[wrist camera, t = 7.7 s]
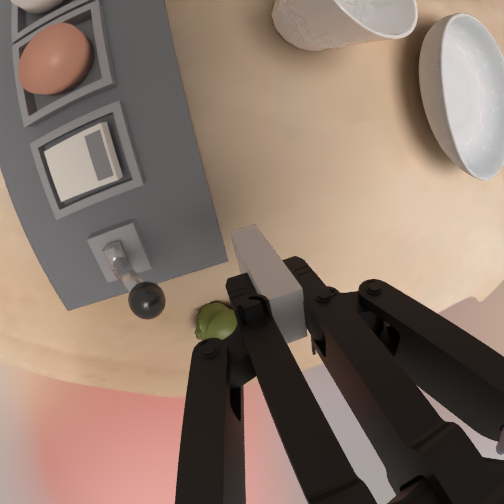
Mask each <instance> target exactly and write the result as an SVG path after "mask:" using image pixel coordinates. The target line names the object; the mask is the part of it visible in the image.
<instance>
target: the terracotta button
mask: <svg viewBox="0 0 504 504" xmlns="http://www.w3.org/2000/svg"><path fill="white" fill-rule="evenodd" d="M93 53H94V52H93V46H92V43H91V41H90V40H89V38H88V37H87V36H85V35H84V34H83V33H82V32H81V31H80V30H79V29H77V28H76V27H75V26H73V25H71V24H68V23H57V24H53V25H51V26H48V27H46V28H45V29H43V30H41V31H40V32H39V33H38V34H36V35H35V36H34V37H33V38H32V39H31V41H30V42H29V43H28V44H27V46H26V48H25V49H24V51H23V53H22V55H21V58H20V61H19V66H18V77H19V81H20V83H21V85H22V86H23V88H24V89H25V90H27V91H28V92H31V93H35V94H44V95H61V94H64V93H66V92H68V91H70V90H72V89H73V88H75V87H76V86H77V85H78V84H79V83H80V82H81V81H82V80H83V79H84V77H85V76H86V74H87V73H88V71H89V69H90V67H91V64H92V61H93Z"/></svg>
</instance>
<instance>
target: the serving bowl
mask: <svg viewBox="0 0 504 504" xmlns="http://www.w3.org/2000/svg"><path fill="white" fill-rule="evenodd" d="M419 84H420V91H421V97H422V102H423V106H424V110H425V113H426V116H427V119H428V122H429V125H430V127H431V130H432V132H433V134H434V136H435V138H436V140H437V141H438V143H439V145H440V146H441V148H442V149H443V151H444V152H445V154H446V155H447V156H448V157H449V158H450V159H451V161H452V162H453V163H454V164H456V165H457V166H458V167H459V168H460V169H462V170H463V171H464V172H466V173H468V174H469V175H471V176H473V177H474V178H476V179H479V180H488V179H491V178H492V177H494V176H495V175H496V174H497V173H498V172H499V171H500V170H501V168H502V167H503V165H504V57H503V54H502V52H501V50H500V48H499V46H498V44H497V43H496V41H495V39H494V38H493V36H492V35H491V33H490V32H489V31H488V30H487V28H486V27H485V26H484V25H483V24H482V23H481V22H480V21H478V20H477V19H476V18H474V17H473V16H471V15H468V14H465V13H457V14H453V15H449V16H447V17H444V18H442V19H440V20H439V21H437V22H436V23H435V24H434V25H433V26H432V27H431V28H430V29H429V31H428V32H427V34H426V36H425V38H424V41H423V44H422V47H421V51H420V58H419Z"/></svg>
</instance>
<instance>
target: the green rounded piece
mask: <svg viewBox="0 0 504 504" xmlns="http://www.w3.org/2000/svg"><path fill="white" fill-rule="evenodd" d="M197 324H198V325H197V327H196V331H195V334H196V338H197V339H200V340H204V339H208V338H219V339H221V340H223V339H225V338H226V337H228V336H229V335H230V334H232V332H233V331H234V330H235V328H236V326H237V320H236V317H235V314H234V311H233V310H232V309H229V308H227V307H226V306H225V305H223V304H221V303H218V302H215V303H212V304H206V305H205V306H204V307H203V308H202V311H201V312H200V313H199V315H198V323H197Z"/></svg>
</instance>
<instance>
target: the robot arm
mask: <svg viewBox="0 0 504 504" xmlns="http://www.w3.org/2000/svg"><path fill="white" fill-rule="evenodd" d="M230 233H231V237H232V241H233V245H234V249H235V252H236V256H237V260H238V264H239V268H240V271H241V273H242V274H241V275H237V276H234V277H231V278H228V279H227V282H226V289H227V292H228V295H229V299H230V302H231V305H232V308H233V311H234V314H235V317H236V320H237V326H236V328H235V330H234V331H233V332H232V334H230V335H229V336H228V337H226V338H225V339H223V340H221V339H219V338H208V339H204V340H202V341H201V342H199V343H198V344H197V345H196V346H195V347H194V350H193V352H192V358H191V365H190V372H189V379H188V386H187V393H186V401H185V409H184V417H183V425H182V434H181V443H180V452H179V462H178V473H177V485H176V497H175V504H246V495H245V494H246V493H245V451H244V396H243V395H244V394H243V385H244V384H245V383H247V382H248V381H250V380H251V379H253V378H254V377H256V376H257V379H258V382H259V384H260V387H261V389H262V392H263V395H264V397H265V400H266V402H267V405H268V408H269V410H270V413H271V416H272V418H273V420H274V423H275V426H276V428H277V431H278V433H279V436H280V438H281V441H282V443H283V446H284V448H285V450H286V453H287V455H288V458H289V460H290V463H291V465H292V467H293V470H294V472H295V474H296V477H297V479H298V481H299V484H300V486H301V488H302V491H303V493H304V495H305V498H306V499H307V502H308V504H377V503H376V501H375V499H374V497H373V495H372V494H371V492H370V490H369V489H368V487H367V486H366V484H365V483H364V482H363V481H362V480H361V479H359V478H358V476H357V475H356V474H355V472H354V470H353V468H352V467H351V465H350V463H349V461H348V459H347V457H346V455H345V454H344V452H343V450H342V448H341V446H340V444H339V442H338V441H337V439H336V437H335V435H334V433H333V431H332V429H331V427H330V426H329V424H328V422H327V420H326V418H325V416H324V414H323V412H322V411H321V408H320V407H319V405H318V403H317V401H316V399H315V397H314V395H313V393H312V391H311V389H310V388H309V385H308V384H307V382H306V380H305V378H304V376H303V374H302V372H301V370H300V368H299V366H298V364H297V362H296V361H295V359H294V357H293V355H292V353H291V351H290V349H289V347H288V345H287V343H290V342H293V341H295V340H298V339H301V338H303V337H306V336H307V329H308V331H309V333H310V334H311V342H312V352H313V355H315V354H316V353H315V349H316V351H317V353H318V354H319V356H320V358H321V359H322V361H323V363H324V364H325V366H326V368H327V369H328V371H329V373H330V375H331V376H332V378H333V379H334V381H335V383H336V385H337V386H338V388H339V390H340V391H341V393H342V395H343V396H344V398H345V400H346V401H347V403H348V405H349V407H350V408H351V410H352V412H353V413H354V415H355V416H356V418H357V420H358V422H359V423H360V425H361V427H362V428H363V430H364V432H365V434H366V435H367V437H368V439H369V440H370V442H371V444H372V445H373V447H374V449H375V450H376V452H377V454H378V456H379V457H380V459H381V461H382V462H383V464H384V466H385V468H386V472H387V478H388V481H389V483H390V485H391V486H392V488H393V490H394V492H395V494H396V496H395V497H394V498H393V499H392V500H391V501H390V502H389V503H387V504H504V460H498V459H491V458H484V457H482V456H481V454H480V453H479V451H478V450H477V449H476V447H475V446H474V444H473V443H472V442H471V440H470V439H469V437H468V436H467V435H466V433H465V432H464V431H463V429H462V428H461V427H460V426H459V425H457V424H456V423H454V422H446V421H444V420H443V419H442V418H441V417H440V416H439V415H438V413H437V412H436V411H435V409H434V408H433V407H432V405H431V404H430V403H429V401H428V400H427V399H426V398H425V396H424V395H423V393H422V392H421V391H420V390H419V388H418V387H420V388H421V389H422V390H423V391H425V392H426V393H427V394H429V395H430V396H431V397H432V398H434V399H435V400H436V401H438V402H439V403H440V404H441V405H443V406H444V407H445V408H447V409H448V410H449V411H450V412H452V413H453V414H454V415H455V416H457V417H458V418H459V419H461V420H462V421H463V422H464V423H466V424H467V425H468V426H470V427H471V428H472V429H474V430H475V431H476V432H478V433H479V434H481V435H483V436H485V437H487V438H489V439H491V440H494V441H498V444H497V446H496V451H497V453H498V454H500V455H502V454H504V357H503V356H502V355H500V354H499V353H497V352H496V351H495V350H493V349H492V348H490V347H489V346H487V345H486V344H484V343H482V342H481V341H479V340H478V339H476V338H475V337H473V336H472V335H470V334H469V333H467V332H466V331H464V330H463V329H461V328H459V327H458V326H456V325H455V324H453V323H451V322H450V321H448V320H447V319H445V318H443V317H442V316H440V315H439V314H437V313H435V312H434V311H432V310H431V309H429V308H427V307H426V306H424V305H422V304H421V303H419V302H417V301H416V300H414V299H412V298H411V297H409V296H407V295H406V294H404V293H402V292H401V291H399V290H397V289H396V288H394V287H392V286H391V285H389V284H387V283H385V282H384V281H381V280H377V279H371V280H366V281H364V282H362V284H361V285H360V286H359V291H355V292H348V293H340V292H339V291H338V290H336V289H335V288H333V287H329V286H326V285H325V284H324V283H323V282H322V281H321V279H320V278H319V277H318V276H317V275H316V273H315V272H314V271H312V269H311V268H310V266H308V264H307V263H306V262H305V261H304V260H303V259H301V258H299V257H297V256H294V257H291V258H288V259H285V260H281V258H280V257H279V255H278V254H277V253H276V251H275V250H274V249H273V247H272V246H271V245H270V243H269V242H268V241H267V239H266V238H265V236H264V235H263V234H262V232H261V231H260V230H259V228H258V227H257V226H256V224H253V225H250V226H247V227H243V228H240V229H237V230H233V231H230ZM416 385H417V386H418V387H417V386H416Z"/></svg>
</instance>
